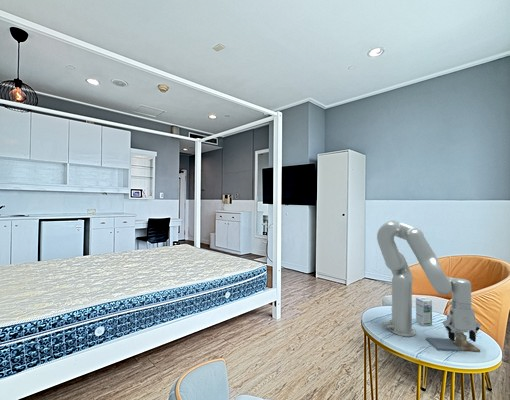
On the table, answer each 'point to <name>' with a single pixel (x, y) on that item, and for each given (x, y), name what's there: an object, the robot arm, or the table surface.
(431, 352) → the table surface
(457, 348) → the plate
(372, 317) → the table surface
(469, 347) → the stub
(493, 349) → the table surface
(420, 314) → the syrup box
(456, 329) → the medicine box
